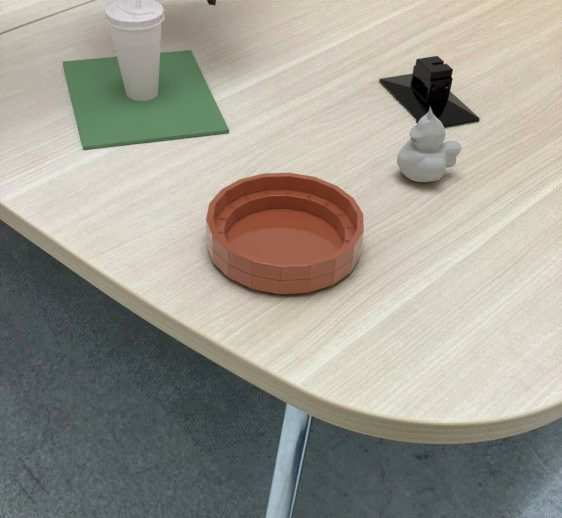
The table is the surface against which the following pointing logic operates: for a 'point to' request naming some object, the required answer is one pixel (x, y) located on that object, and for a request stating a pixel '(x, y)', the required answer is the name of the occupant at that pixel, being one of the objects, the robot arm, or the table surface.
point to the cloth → (141, 103)
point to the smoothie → (137, 44)
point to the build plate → (430, 93)
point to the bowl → (284, 232)
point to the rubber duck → (427, 151)
